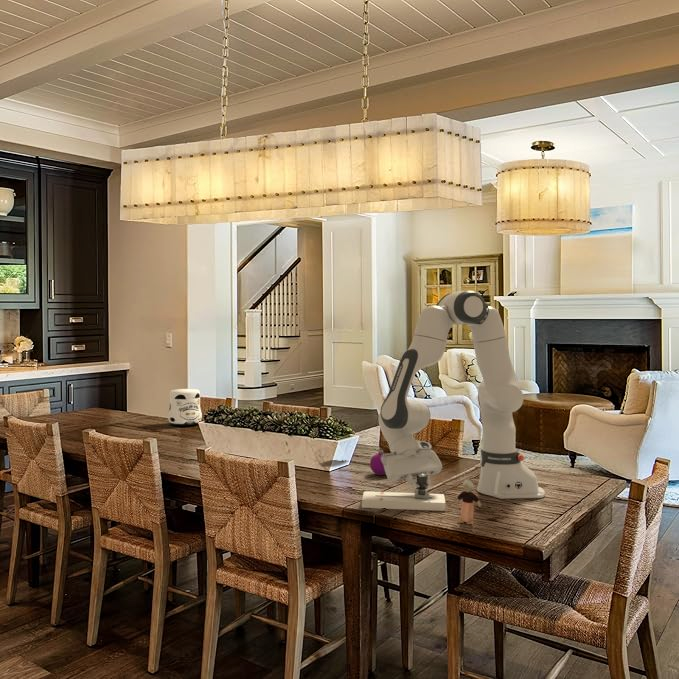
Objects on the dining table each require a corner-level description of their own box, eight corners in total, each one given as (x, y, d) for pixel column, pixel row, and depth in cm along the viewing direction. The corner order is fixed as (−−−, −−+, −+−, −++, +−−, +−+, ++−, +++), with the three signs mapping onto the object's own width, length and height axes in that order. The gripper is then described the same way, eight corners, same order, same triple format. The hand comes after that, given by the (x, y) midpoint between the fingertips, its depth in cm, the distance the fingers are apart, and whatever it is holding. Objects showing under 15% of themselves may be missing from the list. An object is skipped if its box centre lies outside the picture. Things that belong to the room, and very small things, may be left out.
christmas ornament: (374, 471, 265) (375, 445, 264) (394, 473, 261) (395, 447, 261) (366, 475, 257) (366, 449, 257) (386, 478, 254) (387, 451, 253)
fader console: (443, 501, 224) (444, 493, 224) (445, 510, 214) (445, 502, 214) (363, 498, 227) (364, 491, 227) (361, 507, 217) (361, 499, 217)
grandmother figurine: (453, 523, 202) (454, 480, 202) (456, 519, 206) (456, 477, 205) (479, 526, 200) (480, 483, 199) (482, 522, 203) (482, 479, 203)
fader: (428, 494, 222) (428, 472, 222) (428, 498, 218) (429, 476, 217) (414, 494, 222) (414, 472, 222) (414, 498, 218) (415, 475, 218)
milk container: (189, 428, 352) (189, 393, 351) (161, 426, 358) (161, 391, 357) (208, 423, 368) (208, 389, 367) (180, 421, 374) (180, 387, 373)
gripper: (382, 448, 220) (400, 486, 212) (434, 442, 230) (452, 478, 222) (375, 459, 224) (391, 497, 216) (425, 453, 234) (443, 488, 226)
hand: (422, 487), depth 219 cm, fingers closed on fader, 3 cm apart
